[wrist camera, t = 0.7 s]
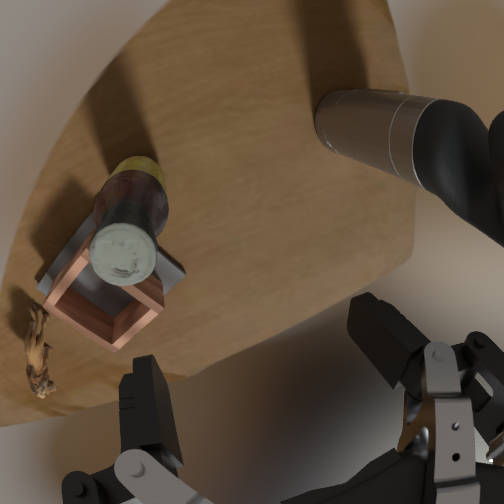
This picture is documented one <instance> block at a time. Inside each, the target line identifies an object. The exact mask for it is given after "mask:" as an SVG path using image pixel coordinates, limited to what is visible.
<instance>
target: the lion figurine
mask: <svg viewBox="0 0 504 504" xmlns="http://www.w3.org/2000/svg"><path fill="white" fill-rule="evenodd" d="M32 306H33V310H34V313H35V318H36V320H35V322H34V321H30V322H29V325H30V328H29V331H28V333H27V335H26V338H25V352H26V357H27V363H28V366H27V368H26V372H27V377H28V381H29V384H30V386H31V389H32V390H33V392H34V393H35V394H36V395H37V397H40V398H45V397H46V394H49V393H50V392H54V391H56V388H55V385H54V382H53V381H50V380H49V375H48V368H47V363H48V354H49V353H50V352H52V349H51V348H50V347H48V346H46V347H45V349H44V356H43V354H42V348H43V345H44V341H45V336H46V323H47V320H48V319H49V318H50V316H49V314H46V313H45V314H44V315H43V319H42V328H41V331H40V333H39V335H38V337H37V338H36V334H37V328H38V313H37V307H36V305H35V304H33V305H32ZM34 326H35V327H34ZM33 328H34V331H33Z"/></svg>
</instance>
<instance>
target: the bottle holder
mask: <svg viewBox="0 0 504 504" xmlns="http://www.w3.org/2000/svg"><path fill="white" fill-rule="evenodd" d="M96 229H97V227H96V225H95V222H94V210H93V211H92V213H91V214H90V215H89V216H88V217H87V219H86V220H85V221H84V222H83V223H82V225H81V226H80V227H79V228H78V230H77V231H76V232H75V233H74V235H73V236H72V237H71V239H70V240H69V241H68V242H67V244H66V245H65V246H64V248H63V249H62V250H61V252H60V253H59V255H58V256H57V257H56V259H55V260H54V261H53V263H52V264H51V266H50V267H49V269H48V270H47V272H46V273H45V274H44V276H43V277H42V279H41V280H40V282H39V283H38V285H37V287H36V288H37V289H38V290H40V291H41V292H42V293H44V294H45V295H46V296H47V297H46V299H45V301H44V304H43V307H45V308H46V309H47V310H49V311H50V312H51V313H53V314H54V315H55V316H57V317H58V318H60V319H61V320H63V321H64V322H65V323H67V324H68V325H70V326H71V327H73V328H74V329H76V330H77V331H79V332H80V333H82V334H84V335H85V336H87V337H88V338H90V339H91V340H93V341H95V342H96V343H98V344H100V345H101V346H103V347H105V348H106V349H108V350H110V351H111V352H113V353H115V352H116V351H117V350H119V349H120V348H121V347H122V346H123V345H124V344H125V343H126V342H127V341H129V340H130V339H131V338H132V337H133V336H134V335H135V334H136V333H138V332H139V331H140V330H141V329H142V328H143V327H144V326H145V325H147V324H148V323H149V322H150V321H151V320H152V319H153V318H154V317H156V316H157V315H158V314H159V313H160V312H161V311H162V310H164V309H165V306H164V295H165V294H166V293H167V292H168V291H169V290H170V289H171V288H172V287H174V286H175V285H176V284H177V283H178V282H179V281H180V280H181V279H183V278H184V277H185V276H186V272H185V271H184V270H183V269H182V268H181V267H179V266H178V265H177V264H176V263H175V262H174V261H172V260H171V259H170V258H169V257H168V256H166V255H165V254H164V253H163V252H162V251H161V250H159V249H158V251H157V261H156V265H155V267H154V270H153V271H152V273H151V274H150V275H149V277H147V278H145V279H144V280H143V281H141V282H139V283H137V284H134V285H129V286H117V285H113V284H111V283H108V282H106V281H105V280H103V279H102V278H101V277H99V276H98V275H97V273H96V272H95V271H94V269H93V267H92V265H91V262H90V259H89V246H90V242H91V239H92V237H93V235H94V233H95V231H96Z"/></svg>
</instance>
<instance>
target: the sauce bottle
mask: <svg viewBox="0 0 504 504" xmlns="http://www.w3.org/2000/svg"><path fill="white" fill-rule="evenodd" d="M168 208H169V207H168V199H167V194H166V187H165V181H164V176H163V172H162V170H161V168H160V167H159V165H158V164H157V163H156V162H155V161H153V160H152V159H150V158H148V157H145V156H132V157H130V158H127V159H125V160H124V161H122V162H121V163H120V164H119V165H118V166H117V167H116V169H115V170H114V171H113V172H112V174H111V175H110V177H109V178H108V179H107V181H106V182H105V184H104V185H103V187H102V188H101V190H100V193H99V195H98V196H97V200H96V202H95V206H94V222H95V225H96V227H97V229H96V231H95V233H94V235H93V237H92V239H91V242H90V246H89V259H90V262H91V265H92V267H93V269H94V271H95V272H96V273H97V275H98V276H99V277H101V278H102V279H103V280H105V281H106V282H108V283H111V284H113V285H117V286H129V285H134V284H137V283H139V282H141V281H143V280H144V279H145V278H147V277H149V275H150V274H151V273H152V271H153V270H154V267H155V265H156V261H157V251H158V248H157V240H156V237H157V236H159V234H160V233H161V232H162V230H163V229H164V227H165V225H166V222H167V218H168Z"/></svg>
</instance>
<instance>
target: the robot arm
mask: <svg viewBox="0 0 504 504" xmlns="http://www.w3.org/2000/svg"><path fill="white" fill-rule="evenodd" d="M315 128H316V132H317V135H318V137H319V139H320V141H321V142H322V143H323V145H324V146H325V147H327V148H328V149H329V150H331V151H333V152H335V153H338V154H341V155H344V156H347V157H349V158H352V159H354V160H357V161H360V162H362V163H365V164H367V165H370V166H372V167H375V168H377V169H380V170H382V171H385V172H387V173H389V174H392V175H394V176H396V177H399V178H401V179H403V180H405V181H408V182H410V183H412V184H414V185H417V186H419V187H421V188H423V189H425V190H427V191H429V192H431V193H433V194H435V195H437V196H438V197H439V198H440V199H441V200H442V201H443V202H444V203H445V204H446V205H447V206H448V207H449V208H450V209H451V210H452V211H453V212H454V213H455V214H456V215H458V216H459V217H460V218H462V219H463V220H465V221H466V222H468V223H469V224H471V225H472V226H474V227H475V228H477V229H479V230H480V231H481V232H483V233H484V234H486V235H487V236H488V237H490V238H491V239H492V240H494V241H495V242H497V243H498V244H499V245H501V246H502V247H504V111H502V112H501V113H499V114H498V115H497V116H496V117H495V119H494V120H493V121H492V123H491V125H490V128H489V131H488V129H487V128H486V126H485V125H484V124H483V122H482V121H481V119H480V118H479V116H478V115H477V114H476V113H475V112H474V111H473V110H472V109H471V108H470V107H468V106H466V105H464V104H462V103H459V102H455V101H449V100H443V99H436V98H431V97H424V96H416V95H408V94H404V93H403V92H401V91H394V90H381V89H360V88H354V89H353V90H337V91H333V92H331V93H329V94H328V95H326V96H325V97H324V98H323V99H322V100H321V102H320V103H319V105H318V107H317V110H316V114H315ZM347 330H348V333H349V335H350V337H351V338H352V340H353V341H354V342H355V343H356V344H357V346H358V347H359V348H360V349H361V351H362V352H363V353H364V354H365V355H366V356H367V358H368V359H369V360H370V361H371V363H372V364H373V365H374V366H375V368H376V369H377V370H378V371H379V373H381V375H382V376H383V377H384V379H385V380H386V381H387V382H388V384H389V385H390V386H391V387H392V389H393V390H394V389H396V388H398V387H399V386H401V385H403V386H404V387H405V390H404V396H403V397H404V399H403V427H402V432H401V435H400V438H399V441H398V445H397V451H396V450H395V448H393V449H391V450H390V451H388V452H386V453H385V454H383V455H382V456H380V457H378V458H376V459H374V460H373V461H371V462H369V464H367V465H366V466H365V467H364V468H363V469H362V470H361V471H359V472H358V473H357V474H356V475H355V476H353V477H352V478H351V479H350V480H349V481H348V482H346V483H343V484H340V485H335V486H331V487H326V488H321V489H315V490H311V491H308V492H306V493H303V494H300V495H298V496H295V497H292V498H290V499H287V500H284V501H281V502H280V504H504V352H502V350H500V348H499V347H498V346H497V345H496V344H495V343H494V342H493V341H492V340H491V339H490V338H489V337H488V336H487V335H485V334H483V333H481V332H477V331H475V332H471V333H469V335H468V336H467V338H466V340H465V342H464V343H460V344H456V345H453V346H449V345H448V344H446V343H444V342H441V341H434V342H431V341H430V340H429V339H428V338H427V337H425V336H424V335H423V334H422V333H421V332H420V331H419V330H418V329H417V328H416V327H415V326H414V325H413V324H412V323H411V322H410V321H409V320H407V319H406V317H404V315H402V314H400V312H399V311H398V310H397V309H396V308H395V307H394V306H393V305H391V304H389V303H387V302H385V301H383V300H378V299H377V298H376V297H375V296H374V295H373V294H371V293H369V292H366V293H364V294H361V295H358V296H356V297H353V298H352V299H351V302H350V308H349V315H348V320H347ZM478 372H479V374H480V375H481V376H482V377H483V378H484V379H485V380H486V382H487V383H488V384H489V385H490V386H491V387H492V389H493V397H491V396H490V395H489V394H488V393H487V392H486V390H485V389H484V388H483V387H482V386H481V384H480V383H479V382H478V381H477V380H476V379H475V376H476V374H477V373H478ZM119 400H120V401H119V409H120V412H119V417H120V435H121V453H120V456H119V457H118V458H117V459H116V462H115V463H114V464H113V465H112V466H111V467H109V468H107V469H104V470H102V471H99V472H97V473H94V474H91V475H88V474H86V473H84V472H81V471H74V472H71V473H69V474H67V475H66V477H65V478H64V479H63V482H62V497H63V504H214V503H212V502H211V501H209V500H207V499H206V498H205V497H203V496H202V495H200V494H199V493H197V492H196V491H194V490H193V489H192V488H190V487H189V486H187V485H186V484H185V483H183V482H182V481H181V480H180V479H179V477H178V473H177V469H176V468H179V467H184V463H183V459H182V455H181V450H180V446H179V441H178V436H177V431H176V426H175V421H174V416H173V410H172V405H171V399H170V393H169V389H168V385H167V382H166V380H165V377H164V375H163V373H162V371H161V370H160V368H159V366H158V363H157V361H156V359H155V357H154V356H153V355H147V356H142V357H137V358H133V373H129V374H124V376H123V378H122V380H121V382H120V385H119ZM474 427H475V428H476V429H477V431H478V432H479V433H480V435H481V436H482V438H483V439H484V440H485V442H486V443H487V444H488V446H489V451H488V452H487V454H486V459H487V460H488V461H493V464H486V463H479V462H475V438H474Z"/></svg>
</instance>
